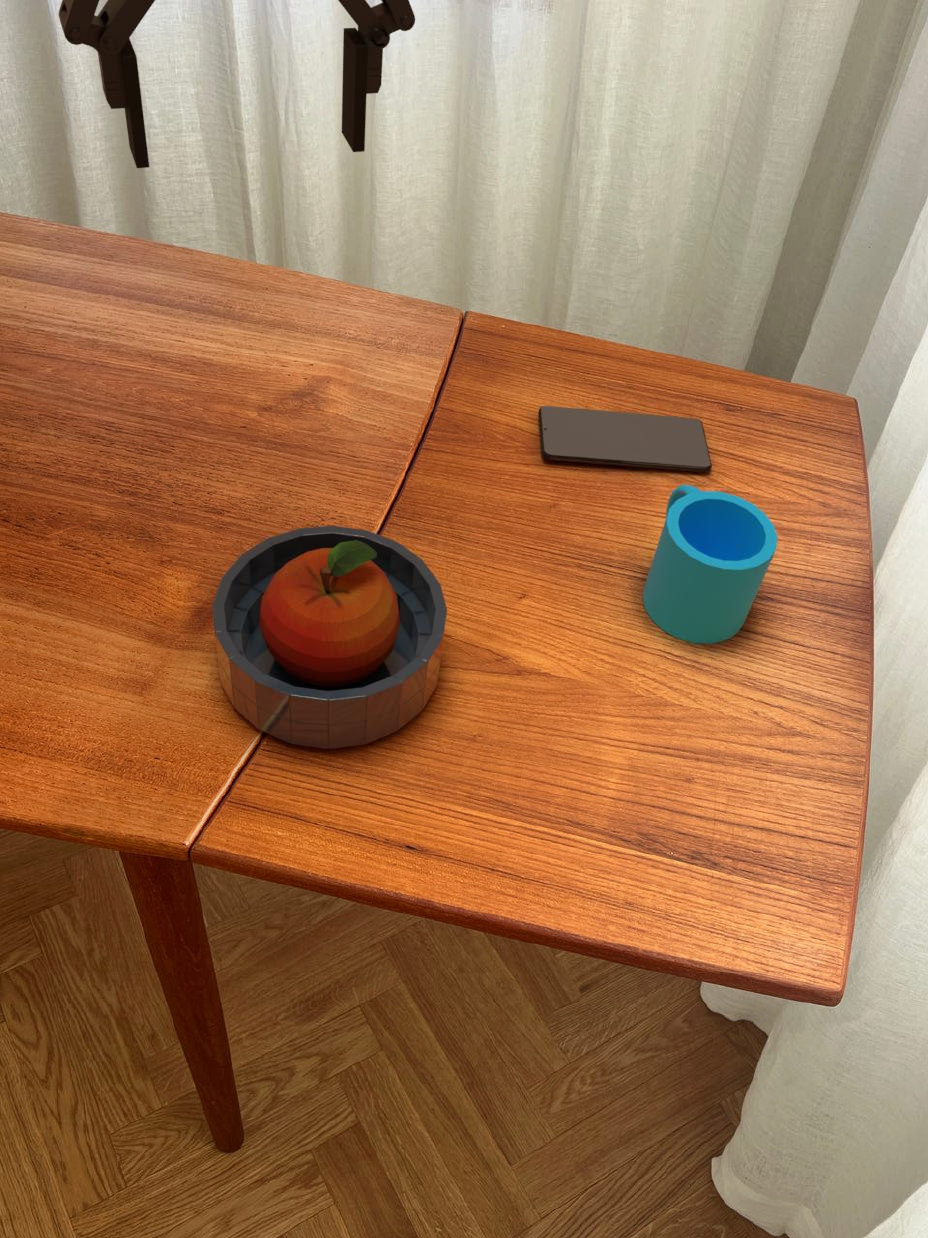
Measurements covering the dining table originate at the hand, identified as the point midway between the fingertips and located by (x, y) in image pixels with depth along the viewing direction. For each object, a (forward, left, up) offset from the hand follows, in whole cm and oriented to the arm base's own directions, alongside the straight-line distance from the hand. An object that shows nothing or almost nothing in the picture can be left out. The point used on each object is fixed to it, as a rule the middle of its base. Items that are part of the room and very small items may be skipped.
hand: (249, 149), depth 70 cm
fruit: (+14, -14, -28) cm, 34 cm away
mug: (+35, +6, -28) cm, 45 cm away
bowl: (+14, -14, -28) cm, 34 cm away
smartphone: (+25, +20, -28) cm, 42 cm away
